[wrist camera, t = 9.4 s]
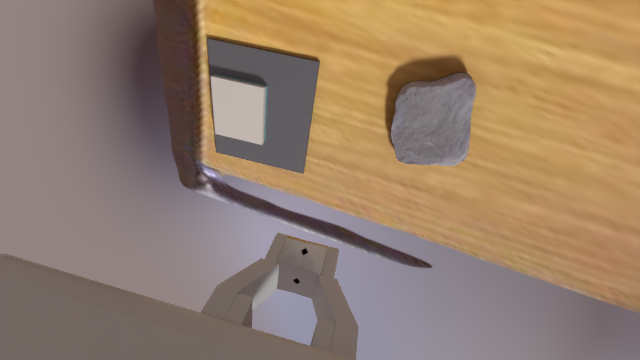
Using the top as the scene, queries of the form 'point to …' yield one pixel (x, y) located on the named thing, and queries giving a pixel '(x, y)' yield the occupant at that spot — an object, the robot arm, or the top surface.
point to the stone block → (434, 121)
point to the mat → (270, 102)
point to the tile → (239, 108)
